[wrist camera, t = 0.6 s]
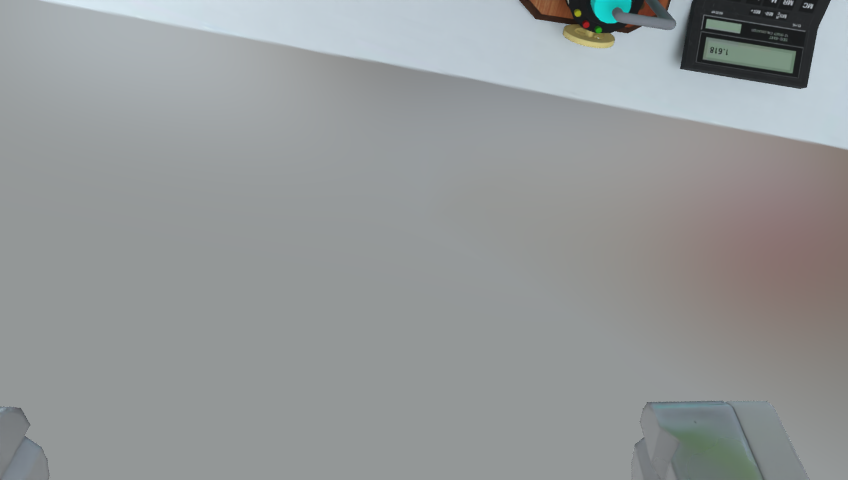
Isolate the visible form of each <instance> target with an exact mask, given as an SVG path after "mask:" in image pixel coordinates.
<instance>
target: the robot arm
mask: <svg viewBox="0 0 848 480" xmlns="http://www.w3.org/2000/svg"><path fill="white" fill-rule="evenodd" d="M640 424H641V428H642V431H643V435H644V438H643V439H641V440H640V441H639V442H638V443H636V444H635V446H634V452H633V458H632V480H810V479H809V477H808V476H807V473H806V471H805V470H804V467H803V465H802V463H801V461H800V459H799V457H798V455H797V453H796V451H795V449H794V447H793V445H792V443H791V441H790V439H789V437H788V435H787V433H786V431H785V429H784V427H783V425H782V423H781V421H780V418H779V416H778V414H777V412H776V410H775V409H774V407H773V406H772V405H771V404H770V403H769V402H767V401H727V402H723V401H692V402H691V401H690V402H647V404H646V405H645V407H644V408H643V411H642V415H641V419H640ZM29 426H30V423H29V422H28V420H27V418H26V416H25V415H24V413H23V411H22V410H21V408H16V407H0V480H49V469H48V462H47V458H46V456H45V454H44V451H43V449H42V448H41V447H40V446H39V445H37V444H36V443H34V442H33V441H31V440H30V439H28V438H27V437H25V434H26V432H27V430H28V428H29Z"/></svg>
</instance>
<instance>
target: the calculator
mask: <svg viewBox="0 0 848 480" xmlns="http://www.w3.org/2000/svg"><path fill="white" fill-rule="evenodd" d="M830 1H831V0H693V2H692V6H691V12H690V17H689V23H688V28H687V34H686V40H685V45H684V51H683V56H682V62H681V67H680V69H684V70H690V71H696V72H702V73H708V74H714V75H720V76H726V77H732V78H738V79H744V80H750V81H756V82H762V83H769V84H775V85H781V86H787V87H793V88H799V89H801V88H806V87H807V84H808V78H809V73H810V67H811V62H812V57H813V51H814V46H815V40H816V35H817V30H818V26H819V24H820V22H821V20H822V18H823V16H824V14H825V11H826V9H827V7H828V5H829V3H830Z"/></svg>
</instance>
